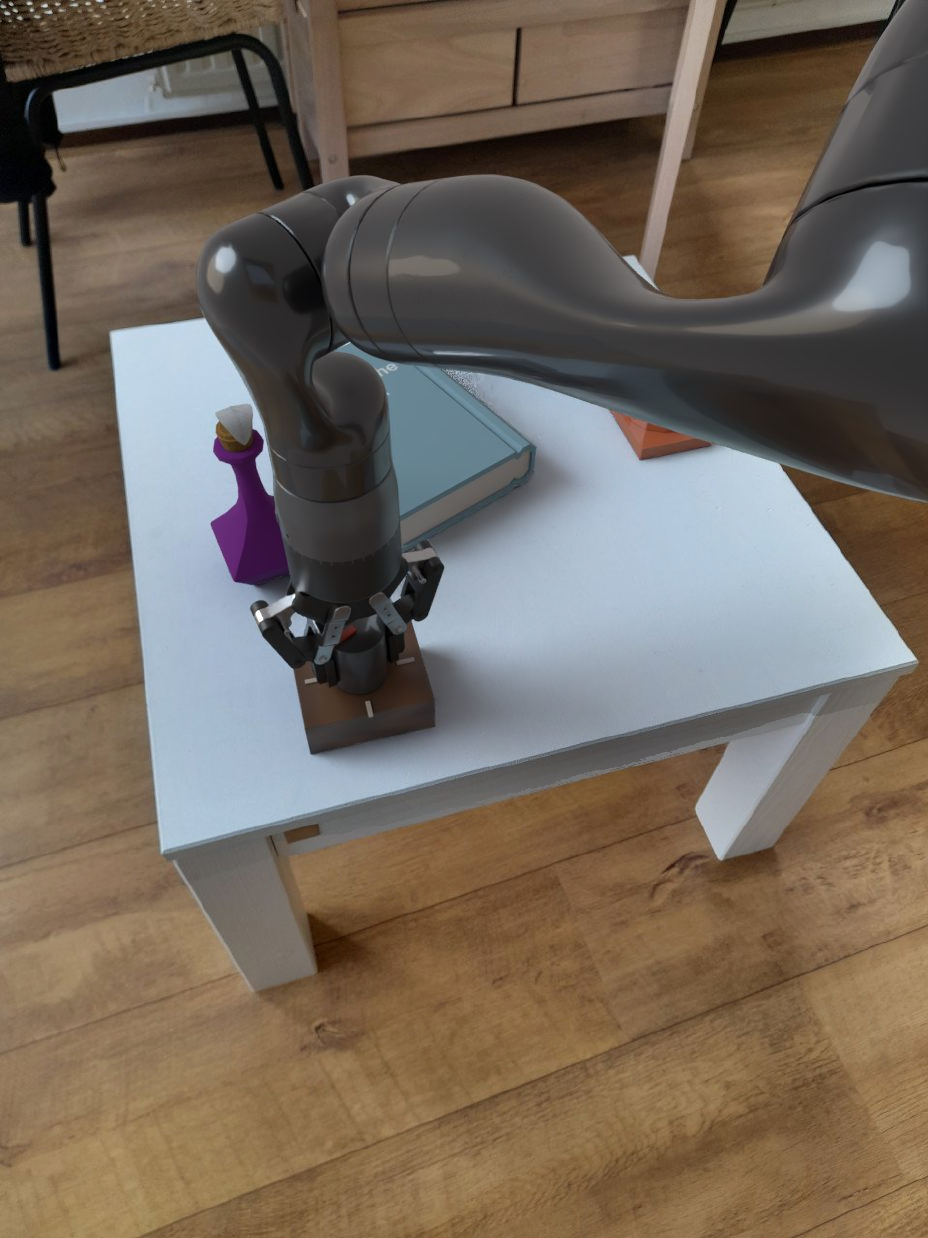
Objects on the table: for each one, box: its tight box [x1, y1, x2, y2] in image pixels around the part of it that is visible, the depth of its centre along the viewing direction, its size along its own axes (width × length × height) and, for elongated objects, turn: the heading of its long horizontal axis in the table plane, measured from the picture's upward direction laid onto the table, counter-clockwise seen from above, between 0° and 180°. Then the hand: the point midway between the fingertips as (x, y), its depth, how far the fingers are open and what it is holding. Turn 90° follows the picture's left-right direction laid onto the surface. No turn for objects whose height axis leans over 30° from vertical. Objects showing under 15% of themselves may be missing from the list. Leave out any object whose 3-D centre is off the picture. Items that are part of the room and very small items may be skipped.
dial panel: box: [292, 620, 436, 755], centre depth 73 cm, size 10×9×4 cm
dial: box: [331, 614, 388, 694], centre depth 70 cm, size 4×4×6 cm
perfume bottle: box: [210, 403, 290, 586], centre depth 76 cm, size 8×8×18 cm
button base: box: [609, 410, 713, 461], centre depth 95 cm, size 10×8×4 cm
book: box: [334, 342, 538, 553], centre depth 91 cm, size 23×16×5 cm
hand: (359, 664), depth 71 cm, fingers closed on dial, 4 cm apart
